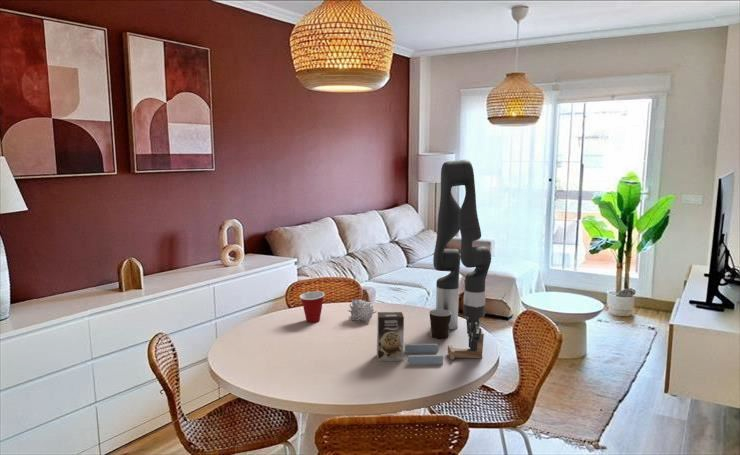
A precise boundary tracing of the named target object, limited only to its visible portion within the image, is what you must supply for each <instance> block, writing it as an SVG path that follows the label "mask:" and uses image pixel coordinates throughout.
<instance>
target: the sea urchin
mask: <svg viewBox="0 0 740 455" xmlns="http://www.w3.org/2000/svg"><path fill="white" fill-rule="evenodd" d="M372 303H373V301H372V302H369V301H367V300H362V299H359V298H358V299H357V298H355V299H354V298H352V299H351V303H349V308H350V309H348V310H347V312H350V315H349V316H348V319H349V320H350V321H358V320H360V321H362V322H363V323H368V322H369V321H371V319H372V317H373V315H374V314H375V313H378V311H377V310H375V309H374V306H373V304H372Z"/></svg>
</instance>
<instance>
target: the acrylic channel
mask: <svg viewBox="0 0 740 455" xmlns="http://www.w3.org/2000/svg"><path fill="white" fill-rule="evenodd" d="M404 353H405V354H409V355H407V356H408V358H407V359H408V360H407V364H408V365H409V366H411V365H412V366H417V365H418V366H419V365H420V366H421V365H425V366H426V365H443V364H444V355H443V354H434V353H439V344H438V343H405V344H404ZM421 353H422V354H421ZM425 353H426V354H425ZM429 353H430V354H429ZM432 353H433V354H432ZM410 354H411V355H410ZM412 354H414V355H412ZM415 354H418V355H415Z"/></svg>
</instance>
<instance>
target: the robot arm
mask: <svg viewBox="0 0 740 455" xmlns="http://www.w3.org/2000/svg"><path fill="white" fill-rule="evenodd" d="M461 186H464V189H465V190H464V191H465V195H464V200H463V202H462V204H461V206H460V205H459V203H458V201H456V199H455V198H454V196H453V194H452V189H453V188H452V187H461ZM439 197H440V198H439V207H438V214H437V215H438V216H437V226H436V227H437V228H436V229H437V231H436V240H435V246H434V252H433V259H432V262H433V268H434V270H436V271H438V272H449V273H448V274H446V275H445V276H442V277H439V278H438V279H437V280H436V284H435V285H436V286H435V289H436V291H435V292H436V294H435V296H436V297H435V310H436V309H442V310H447V311H450V312H451V320H450V326H449V331H451V330H455V329H457V328H458V323H459V322H458V321H459V296H460V295H459V293H460V292H459V290H460V289H459V288H460V286H459V285H460V282H459V281H460V270H461V269H460V267H461V264H462V265H463V266H464V267H465V268H468V269H469V268H474V270H473V271H471V272H469V273H467V274H466V275H465V277H464V292H463V305H462V306H463V307H462V308H463V309H462V310H463V311H462V314H463V315H464V317H466V319H465V322H466V334H467V337H468V349H470V340H471V351H477V341H480V336H481V332H483V329H482V328H480V327H481V321H480V319H481V318H484V317H485V315H486V279H487V276H488V272H489V269H490V265H491V263H492V254H491V251H490V249H489V248H488V247H486V246H473V243H474V242H476V241H479V240H480V239H481V238H482V230H481V226H480V222H479V216H478V211H477V210H478V207H477V196H476V183H475V174H474V168H473V165H472V163H471V161H470V160H469V159H460V160H459V159H457V160H449V161H448V160H447V161H445V162H444V163H443V164H442V165H441V170H440V196H439ZM459 232H460V238H461V240H460V250H459V249H458V248H446V247H447V245H448V243H449V242H451V241H452V240H453V239H454V237H455V236H456V235H458V233H459ZM475 337H476V338H475Z"/></svg>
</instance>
